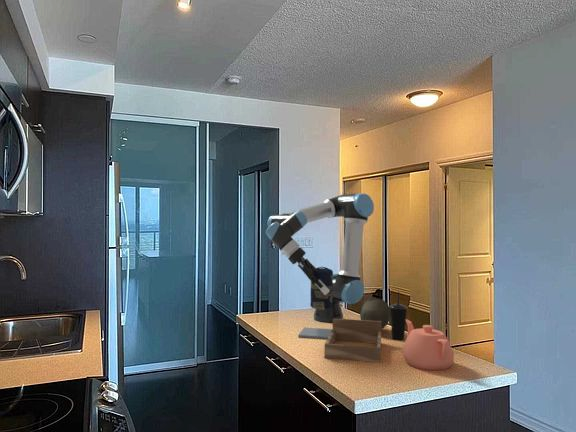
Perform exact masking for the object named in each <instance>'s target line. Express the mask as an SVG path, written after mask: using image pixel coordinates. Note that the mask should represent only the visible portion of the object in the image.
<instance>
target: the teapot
mask: <svg viewBox="0 0 576 432" xmlns="http://www.w3.org/2000/svg"><path fill="white" fill-rule="evenodd" d="M405 320H406V324H407V325H406V326H407V334H406V339H405V341H404V344H403V348H402V356H403V358H404V360H405V361H406V362H407V364H408V365H410V366H411V367H414V368H417V369H420V370H426V371H440V370H441V371H442V370H447V369H449V368H450V367H452V365H453V364H454V362H455V357H454V351H453V347H452V345H451V342H450V341H449V339H448V338H447V336H446V334H445V333H444V332H443V331H441V330H438V329H434V326H433V325H430V324H423V325H422V327H421V328H415V327H414V325H413V322H412V321H411V320H409V319H407V318H406V319H405Z"/></svg>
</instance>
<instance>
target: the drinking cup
mask: <svg viewBox="0 0 576 432" xmlns="http://www.w3.org/2000/svg"><path fill="white" fill-rule="evenodd" d="M388 306H389V309H390V324H391V325H390V326H391V337H392V339H393V340H395V341H403V340H404V339H405V334H406V333H405V331H406V324H407V322H406V320H405V319H407V313H408V312H407V310H408V306H406V305H404V304H401V303H400V291H397V303H394V304H391V305H388Z"/></svg>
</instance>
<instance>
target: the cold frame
mask: <svg viewBox="0 0 576 432" xmlns="http://www.w3.org/2000/svg"><path fill="white" fill-rule="evenodd" d="M331 329H332V331H331V333H330V335H329V337H328V339H326V341H325V343H324V352H323V353H324V356H323V357H324V359H332V360H333V359H335V360H343V361H345V360H346V361H357V362H358V361H359V362H372V363H381V356H382V329H381V321H369V320H361V319H349V318H343V319H335V318H333V322H332V328H331ZM335 342H351V343H353V342H354V343H362V344H363V343H365V344H376V346H368V345H366V346H365V345H353V344H352V345H351V344H339V343H335Z"/></svg>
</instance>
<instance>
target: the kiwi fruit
mask: <svg viewBox="0 0 576 432" xmlns="http://www.w3.org/2000/svg"><path fill="white" fill-rule="evenodd" d="M389 306H390V305H389V304H388V302H386V301H385V300H384V299H381V298H376V297H373V298H368V299H367V300H365V301H364V302H363V304H362V306H361V307H360V308H361V309H360V312H359V316H360V320H369V321H381V330H383V329H384V328H386V326H388V324H389V323H390V321H391V315H390V308H389Z"/></svg>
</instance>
